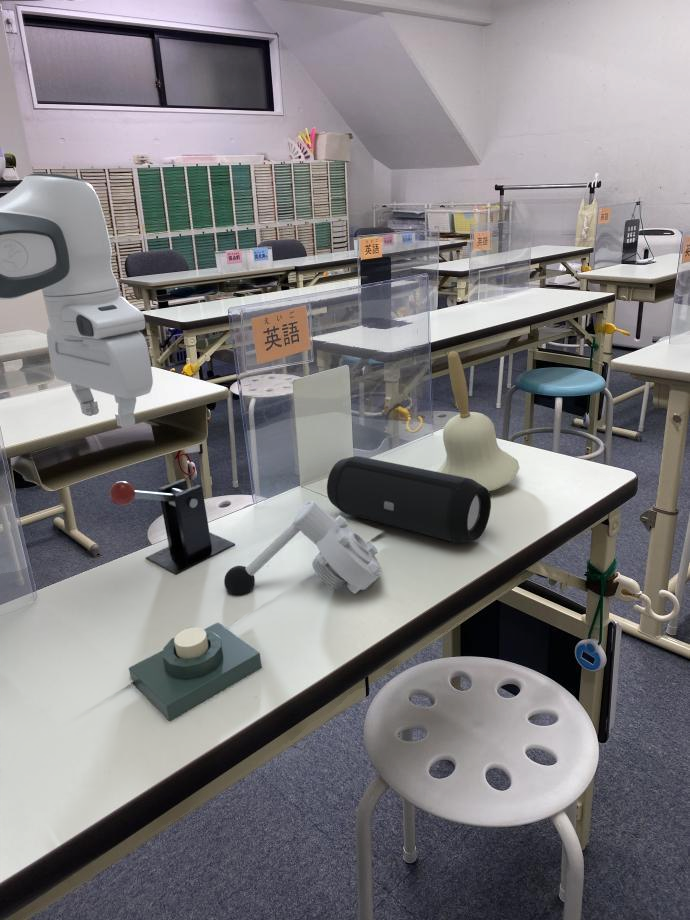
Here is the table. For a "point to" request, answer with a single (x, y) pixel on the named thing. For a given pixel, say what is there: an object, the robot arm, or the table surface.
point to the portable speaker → (410, 498)
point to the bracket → (187, 531)
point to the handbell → (473, 440)
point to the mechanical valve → (335, 562)
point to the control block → (194, 672)
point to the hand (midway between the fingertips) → (108, 420)
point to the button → (191, 643)
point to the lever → (138, 494)
